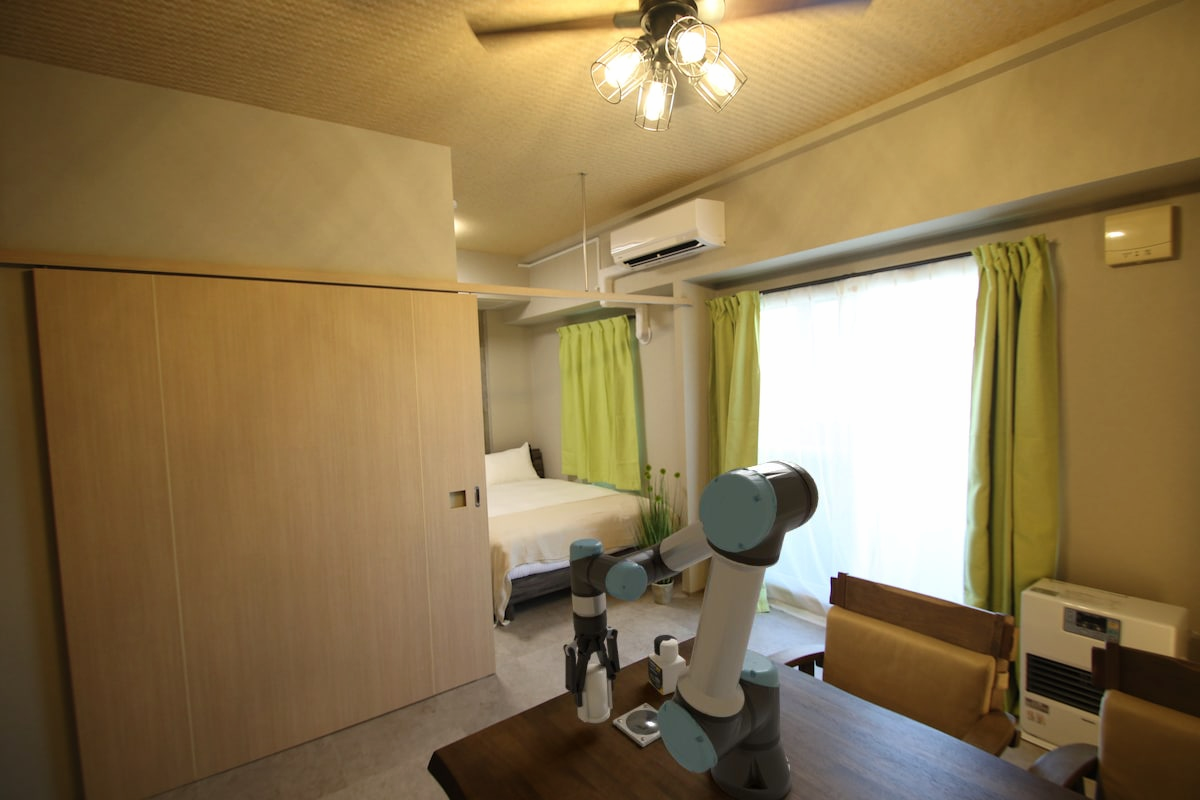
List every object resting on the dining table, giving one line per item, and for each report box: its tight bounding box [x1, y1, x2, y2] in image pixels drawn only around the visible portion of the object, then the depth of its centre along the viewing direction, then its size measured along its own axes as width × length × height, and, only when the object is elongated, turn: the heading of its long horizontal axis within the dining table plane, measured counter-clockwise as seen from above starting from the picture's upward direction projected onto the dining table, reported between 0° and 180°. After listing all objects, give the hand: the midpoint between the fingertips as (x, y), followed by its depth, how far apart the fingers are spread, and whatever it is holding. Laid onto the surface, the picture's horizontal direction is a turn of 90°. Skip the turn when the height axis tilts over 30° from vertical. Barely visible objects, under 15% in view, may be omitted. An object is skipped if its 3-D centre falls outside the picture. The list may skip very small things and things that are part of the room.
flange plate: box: [612, 702, 662, 748], centre depth 118 cm, size 10×10×1 cm
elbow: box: [576, 660, 611, 724], centre depth 119 cm, size 9×6×10 cm, turn 37°
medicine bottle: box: [647, 634, 687, 696], centre depth 133 cm, size 7×7×12 cm
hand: (595, 712), depth 118 cm, fingers closed on elbow, 6 cm apart
